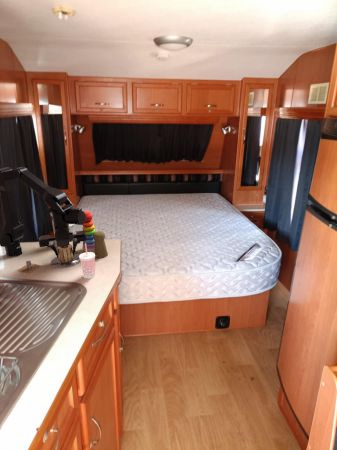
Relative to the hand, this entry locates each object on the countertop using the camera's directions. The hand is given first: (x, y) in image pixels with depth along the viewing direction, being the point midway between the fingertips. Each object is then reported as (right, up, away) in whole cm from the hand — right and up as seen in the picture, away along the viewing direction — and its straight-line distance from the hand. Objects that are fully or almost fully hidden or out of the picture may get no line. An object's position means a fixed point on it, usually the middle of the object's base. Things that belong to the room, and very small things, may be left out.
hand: (66, 256), depth 140 cm
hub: (0, -3, +1) cm, 3 cm away
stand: (-13, -5, -5) cm, 15 cm away
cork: (+14, 0, +7) cm, 15 cm away
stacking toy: (+8, +2, +13) cm, 15 cm away
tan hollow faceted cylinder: (0, -1, 0) cm, 1 cm away
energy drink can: (-7, +3, +17) cm, 19 cm away
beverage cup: (+13, -7, -10) cm, 17 cm away
